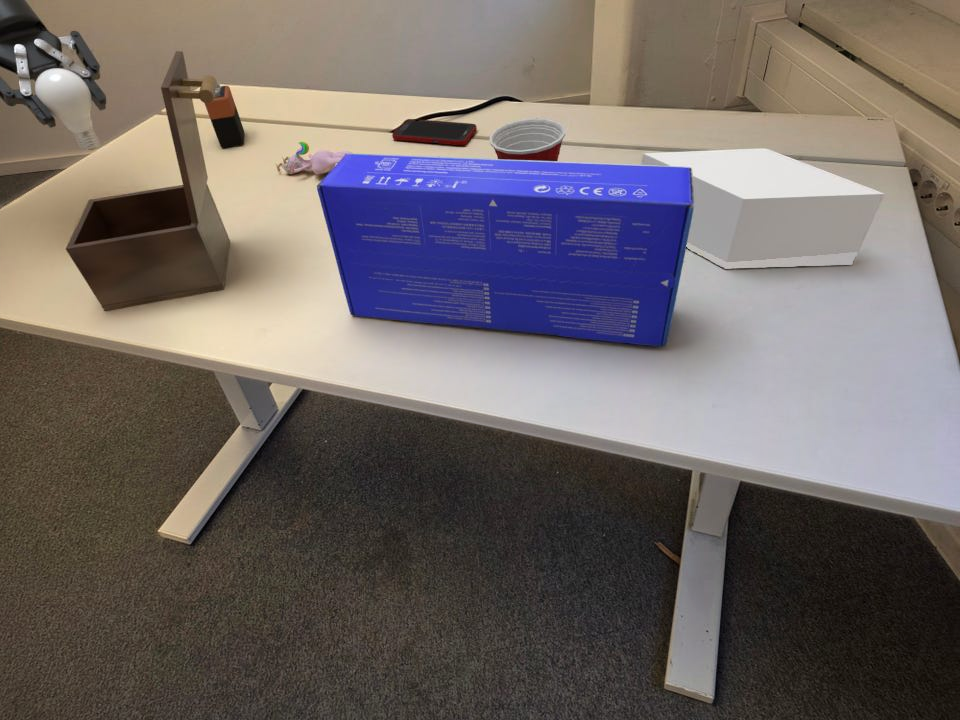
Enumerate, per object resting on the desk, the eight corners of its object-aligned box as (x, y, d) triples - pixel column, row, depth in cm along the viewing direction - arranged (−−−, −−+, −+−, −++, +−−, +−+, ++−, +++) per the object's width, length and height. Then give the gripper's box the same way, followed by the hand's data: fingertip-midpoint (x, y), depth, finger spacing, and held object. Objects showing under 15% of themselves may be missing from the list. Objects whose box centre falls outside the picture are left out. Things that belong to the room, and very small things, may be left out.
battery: (221, 149, 115) (201, 95, 108) (222, 135, 120) (203, 83, 113) (244, 145, 116) (226, 92, 109) (244, 131, 121) (227, 79, 114)
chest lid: (160, 87, 64) (206, 88, 66) (175, 50, 73) (216, 52, 75) (191, 223, 75) (231, 223, 76) (201, 177, 84) (236, 178, 85)
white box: (648, 196, 94) (658, 131, 86) (857, 237, 83) (888, 166, 76) (617, 245, 85) (625, 177, 77) (846, 297, 74) (880, 224, 67)
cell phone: (407, 123, 119) (406, 118, 118) (478, 128, 115) (477, 123, 114) (391, 140, 113) (390, 135, 113) (465, 146, 110) (464, 141, 109)
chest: (104, 311, 81) (65, 249, 74) (122, 259, 90) (88, 199, 83) (224, 289, 83) (196, 226, 76) (230, 240, 91) (206, 180, 85)
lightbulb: (79, 163, 84) (35, 81, 77) (61, 151, 88) (17, 72, 80) (123, 146, 88) (85, 67, 80) (104, 135, 91) (65, 58, 83)
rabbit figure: (277, 185, 106) (352, 178, 101) (262, 153, 102) (339, 144, 97) (294, 169, 110) (366, 161, 105) (280, 137, 106) (354, 128, 102)
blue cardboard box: (666, 305, 75) (694, 164, 62) (665, 351, 69) (696, 206, 56) (371, 278, 82) (342, 148, 70) (348, 317, 77) (312, 183, 64)
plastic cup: (499, 188, 98) (496, 114, 90) (566, 191, 96) (569, 116, 88) (486, 224, 91) (481, 147, 82) (558, 228, 89) (561, 150, 80)
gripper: (-74, 0, 74) (21, 118, 76) (46, -26, 81) (129, 82, 84) (-59, 40, 80) (28, 148, 83) (51, 13, 88) (127, 112, 90)
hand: (78, 114), depth 83 cm, fingers closed on lightbulb, 6 cm apart
